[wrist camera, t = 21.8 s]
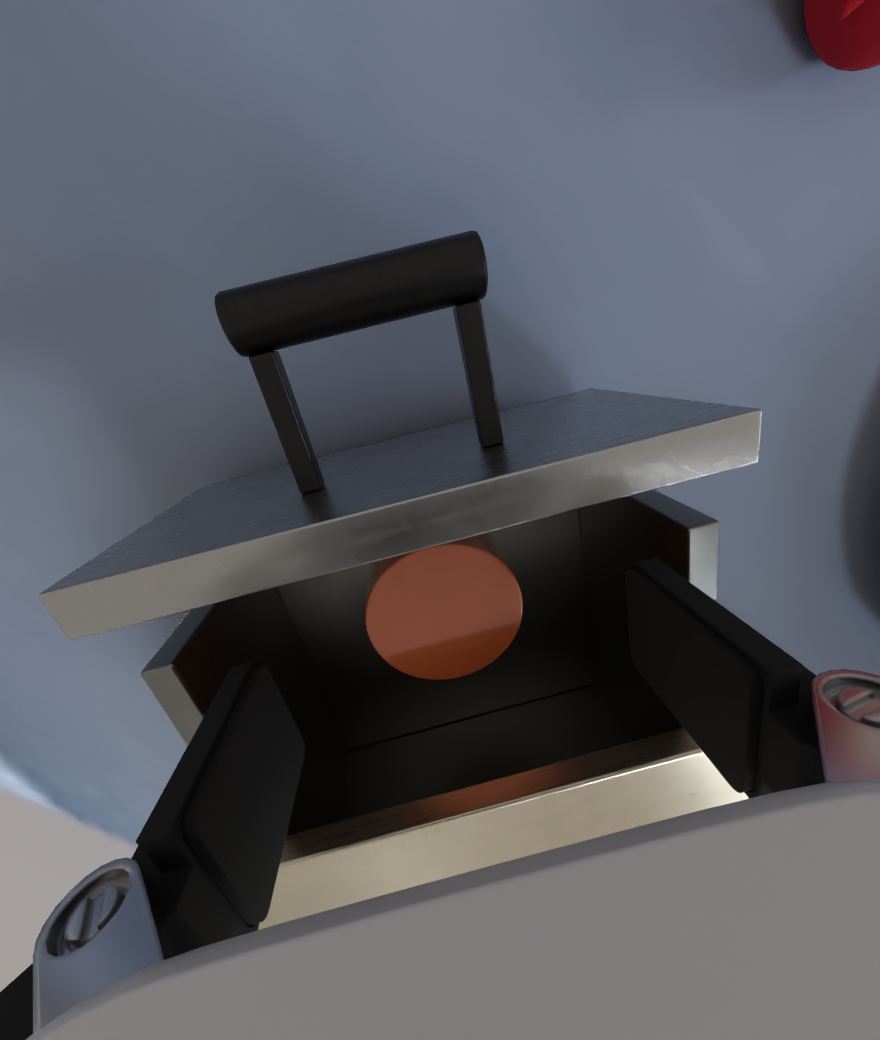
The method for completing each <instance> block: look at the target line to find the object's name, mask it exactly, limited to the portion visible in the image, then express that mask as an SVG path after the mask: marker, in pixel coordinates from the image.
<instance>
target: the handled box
mask: <svg viewBox="0 0 880 1040" xmlns="http://www.w3.org/2000/svg"><path fill="white" fill-rule="evenodd" d="M487 286H488V272H487V262H486V256H485V251H484V247H483V244H482V241H481V238H480V236H479V234H478V233H477V232H476V231H473V230H472V231H468V232H463V233H459V234H455V235H451V236H447V237H443V238H439V239H435V240H430V241H426V242H422V243H418V244H414V245H410V246H406V247H402V248H397V249H393V250H389V251H385V252H381V253H377V254H373V255H369V256H364V257H360V258H356V259H352V260H348V261H344V262H340V263H336V264H331V265H327V266H323V267H319V268H315V269H311V270H307V271H303V272H299V273H294V274H290V275H286V276H282V277H278V278H274V279H270V280H266V281H261V282H257V283H253V284H249V285H245V286H241V287H237V288H233V289H228V290H224V291H220V292H218V293H217V294H216V296H215V307H216V311H217V315H218V318H219V321H220V324H221V326H222V329H223V331H224V333H225V335H226V337H227V339H228V340H229V342H230V343H231V345H232V346H233V348H234V349H235V350H236V352H237V353H238V354H240V355H241V356H244V357H249V360H250V363H251V365H252V368H253V371H254V373H255V376H256V378H257V381H258V384H259V386H260V389H261V391H262V394H263V397H264V399H265V402H266V405H267V407H268V410H269V412H270V415H271V418H272V420H273V423H274V426H275V428H276V431H277V433H278V436H279V439H280V441H281V444H282V447H283V449H284V452H285V454H286V457H287V460H288V462H289V465H286V466H282V467H279V468H275V469H271V470H267V471H263V472H259V473H255V474H251V475H247V476H243V477H239V478H235V479H231V480H227V481H223V482H219V483H215V484H211V485H207V486H203V487H202V488H200V489H199V490H197V491H196V492H194V493H193V494H191V495H190V496H188V497H186V498H185V499H183V500H182V501H180V502H179V503H177V504H176V505H174V506H173V507H171V508H170V509H168V510H167V511H165V512H164V513H162V514H161V515H159V516H157V517H156V518H154V519H153V520H151V521H150V522H148V523H147V524H145V525H144V526H142V527H141V528H139V529H138V530H136V531H135V532H133V533H131V534H130V535H128V536H127V537H125V538H124V539H122V540H121V541H119V542H118V543H116V544H115V545H113V546H112V547H110V548H109V549H107V550H106V551H104V552H102V553H101V554H99V555H98V556H96V557H95V558H93V559H92V560H90V561H89V562H87V563H86V564H84V565H83V566H81V567H80V568H78V569H76V570H75V571H73V572H72V573H70V574H69V575H67V576H66V577H64V578H63V579H61V580H60V581H58V582H57V583H55V584H54V585H52V586H50V587H49V588H47V589H46V590H44V591H43V592H41V593H40V594H39V595H38V596H39V598H40V600H41V601H42V603H43V604H44V605H45V607H46V608H47V610H48V611H49V612H50V614H51V615H52V617H53V618H54V619H55V621H56V622H57V624H58V625H59V626H60V628H61V629H62V631H63V632H64V633H65V635H66V636H67V637H68V639H69V640H75V639H79V638H83V637H87V636H91V635H95V634H98V633H102V632H106V631H110V630H114V629H118V628H122V627H125V626H129V625H133V624H137V623H141V622H145V621H149V620H152V619H156V618H160V617H164V616H168V615H172V614H176V613H179V612H183V611H187V610H191V609H192V610H191V611H190V612H189V614H188V615H187V616H186V617H185V619H184V620H183V621H182V622H181V623H180V625H179V626H178V627H177V628H176V630H175V631H174V632H173V633H172V635H171V636H170V637H169V638H168V640H167V641H166V642H165V643H164V644H163V646H162V647H161V648H160V649H159V651H158V652H157V653H156V654H155V656H154V657H153V658H152V659H151V660H150V662H149V663H148V664H147V665H146V667H145V668H144V669H143V670H142V672H141V676H142V677H143V679H144V680H145V682H146V683H147V685H148V686H149V688H150V689H151V691H152V692H153V694H154V695H155V697H156V698H157V700H158V701H159V703H160V704H161V706H162V707H163V709H164V711H165V712H166V714H167V715H168V717H169V718H170V720H171V721H172V723H173V724H174V726H175V727H176V729H177V730H178V732H179V733H180V735H181V736H182V738H183V739H184V741H185V742H186V744H187V745H189V743H190V741H191V739H192V738H193V736H194V734H195V732H196V730H197V728H198V727H199V725H200V723H201V721H202V719H203V717H204V716H205V714H206V712H207V710H208V708H209V706H210V705H211V703H212V701H213V699H214V697H215V695H216V694H217V692H218V690H219V688H220V686H221V684H222V683H223V681H224V679H225V677H226V675H227V673H228V672H229V670H230V669H231V668H232V667H234V666H238V665H242V664H246V663H250V662H254V661H256V662H258V663H260V665H261V666H262V665H266V666H267V667H268V669H269V671H270V673H271V675H272V677H273V679H274V681H275V683H276V685H277V687H278V689H279V691H280V693H281V695H282V697H283V699H284V701H285V703H286V705H287V707H288V709H289V711H290V713H291V715H292V717H293V719H294V721H295V723H296V725H297V727H298V729H299V731H300V733H301V735H302V737H303V740H304V743H305V757H304V761H303V765H302V770H301V774H300V778H299V783H298V787H297V791H296V796H295V800H294V804H293V809H292V813H291V817H290V822H289V826H288V830H287V835H291V834H294V833H298V832H302V831H305V830H309V829H313V828H316V827H320V826H324V825H327V824H331V823H335V822H338V821H342V820H346V819H349V818H353V817H357V816H360V815H364V814H368V813H371V812H375V811H379V810H382V809H386V808H390V807H393V806H397V805H401V804H404V803H408V802H412V801H415V800H419V799H423V798H426V797H430V796H434V795H437V794H441V793H445V792H448V791H452V790H456V789H459V788H463V787H467V786H470V785H474V784H478V783H481V782H485V781H489V780H492V779H496V778H500V777H503V776H507V775H511V774H514V773H518V772H522V771H525V770H529V769H533V768H536V767H540V766H544V765H547V764H551V763H555V762H558V761H562V760H566V759H569V758H573V757H577V756H580V755H584V754H588V753H591V752H595V751H599V750H602V749H606V748H610V747H613V746H617V745H621V744H624V743H628V742H632V741H635V740H639V739H643V738H646V737H650V736H654V735H657V734H661V733H665V732H668V731H672V730H676V729H679V728H683V726H682V725H681V724H680V722H679V721H678V720H677V719H676V717H675V716H674V715H673V714H672V712H671V711H670V710H669V709H668V707H667V706H666V705H665V704H664V702H663V701H662V700H661V699H660V697H659V696H658V695H657V694H656V692H655V691H654V690H653V689H652V687H651V686H650V685H649V684H648V683H647V681H646V680H645V679H644V678H643V676H642V675H641V674H640V673H639V671H638V670H637V669H636V667H635V666H634V664H633V662H632V659H631V656H630V646H629V632H628V617H627V602H626V588H625V572H626V571H628V570H630V566H631V564H633V563H636V562H640V561H644V560H648V559H651V558H656V559H658V560H660V561H661V562H663V563H664V564H665V565H667V566H668V567H669V568H671V569H672V570H674V571H675V572H676V573H678V574H679V575H680V576H682V577H683V578H684V579H686V580H687V581H689V582H690V583H691V584H693V585H694V586H695V587H697V588H698V589H700V590H701V591H702V592H704V593H705V594H706V595H708V596H709V597H710V598H712V599H713V600H715V601H716V599H717V572H718V546H719V521H717V520H715V519H713V518H711V517H709V516H707V515H705V514H703V513H701V512H699V511H696V510H694V509H692V508H690V507H688V506H686V505H684V504H682V503H680V502H678V501H676V500H674V499H671V498H669V497H667V496H665V495H663V494H661V493H659V492H657V491H655V490H654V489H658V488H661V487H665V486H669V485H673V484H677V483H681V482H685V481H688V480H692V479H696V478H700V477H704V476H708V475H712V474H715V473H719V472H723V471H727V470H731V469H735V468H739V467H742V466H746V465H750V464H754V463H757V462H758V461H759V448H760V435H761V421H762V410H761V409H756V408H748V407H739V406H731V405H723V404H715V403H707V402H699V401H690V400H682V399H674V398H666V397H658V396H649V395H641V394H633V393H625V392H617V391H609V390H600V389H592V388H591V389H587V390H583V391H579V392H575V393H571V394H567V395H563V396H559V397H555V398H551V399H547V400H543V401H540V402H536V403H532V404H528V405H524V406H520V407H516V408H512V409H508V410H504V411H500V412H499V409H498V403H497V397H496V391H495V385H494V380H493V374H492V368H491V362H490V356H489V350H488V344H487V338H486V332H485V327H484V321H483V315H482V309H481V303H480V301H479V300H481V299H483V298H484V297H485V296H486V293H487ZM452 306H455V307H454V309H453V312H454V317H455V323H456V328H457V333H458V338H459V343H460V348H461V354H462V359H463V364H464V369H465V374H466V379H467V385H468V390H469V395H470V400H471V405H472V410H473V415H474V418H472V419H468V420H464V421H460V422H456V423H453V424H449V425H445V426H441V427H437V428H433V429H429V430H425V431H421V432H417V433H413V434H409V435H405V436H401V437H397V438H393V439H389V440H385V441H381V442H377V443H373V444H369V445H366V446H362V447H358V448H354V449H350V450H346V451H342V452H338V453H334V454H330V455H326V456H322V457H318V458H316V456H315V453H314V451H313V448H312V445H311V442H310V439H309V436H308V434H307V431H306V428H305V425H304V422H303V419H302V417H301V414H300V411H299V408H298V405H297V402H296V400H295V397H294V394H293V391H292V388H291V385H290V383H289V380H288V377H287V374H286V371H285V368H284V366H283V363H282V360H281V357H280V354H279V353H278V351H274V350H278V349H282V348H286V347H290V346H294V345H298V344H302V343H306V342H310V341H314V340H318V339H323V338H327V337H331V336H335V335H339V334H343V333H347V332H351V331H355V330H359V329H363V328H367V327H371V326H375V325H379V324H383V323H387V322H392V321H396V320H400V319H404V318H408V317H412V316H416V315H420V314H424V313H428V312H432V311H436V310H440V309H444V308H448V307H452ZM488 532H490V534H491V536H492V538H493V539H494V541H495V543H496V544H497V546H498V548H499V550H500V551H501V553H502V555H503V556H504V558H505V560H506V562H507V563H508V565H509V567H510V568H511V570H512V572H513V573H514V575H515V577H516V579H517V581H518V583H519V585H520V588H521V592H522V596H523V615H522V620H521V624H520V627H519V630H518V632H517V634H516V636H515V638H514V640H513V641H512V642H511V644H510V645H509V647H508V648H507V649H506V650H505V651H504V652H503V654H501V655H500V656H499V657H498V658H497V659H496V660H495V661H493V662H492V663H490V664H489V665H488V666H486V667H484V668H482V669H481V670H478V671H476V672H474V673H472V674H469V675H466V676H462V677H458V678H453V679H445V680H431V679H423V678H418V677H414V676H411V675H408V674H405V673H403V672H401V671H399V670H397V669H396V668H394V667H392V666H391V665H390V664H388V663H387V662H386V661H385V660H384V659H383V658H382V657H381V656H380V655H379V654H378V653H377V651H376V650H375V648H374V647H373V645H372V643H371V641H370V639H369V637H368V634H367V630H366V625H365V606H366V596H367V587H368V577H369V568H370V563H372V562H376V561H380V560H384V559H388V558H391V557H395V556H399V555H403V554H407V553H411V552H415V551H418V550H422V549H426V548H430V547H434V546H438V545H442V544H445V543H449V542H453V541H457V540H461V539H465V538H469V537H472V536H476V535H480V534H484V533H488ZM287 835H286V836H287Z"/></svg>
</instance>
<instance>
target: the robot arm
mask: <svg viewBox="0 0 880 1040" xmlns="http://www.w3.org/2000/svg"><path fill="white" fill-rule="evenodd" d="M625 588H626V602H627V617H628V632H629V646H630V656H631V659H632V662H633V664H634V666H635V667H636V669H637V670H638V671H639V673H640V674H641V675H642V676H643V678H644V679H645V680H646V681H647V683H648V684H649V685H650V686H651V687H652V689H653V690H654V691H655V692H656V694H657V695H658V696H659V697H660V699H661V700H662V701H663V702H664V704H665V705H666V706H667V707H668V709H669V710H670V711H671V712H672V714H673V715H674V716H675V717H676V719H677V720H678V721H679V722H680V724H681V725H682V726H683V727H684V729H685V730H686V731H687V732H688V734H689V735H690V736H691V737H692V739H693V740H694V741H695V742H696V744H697V745H698V746H699V747H700V749H701V750H702V751H703V752H704V754H705V755H706V756H707V757H708V759H709V760H710V761H711V762H712V764H713V765H714V766H715V767H716V769H717V770H718V771H719V772H720V774H721V775H722V776H723V777H724V779H725V780H726V781H727V782H728V784H729V785H730V786H731V787H732V788H733V789H734V790H735V791H736V792H738V793H743V792H744V793H745V794H746V795H747V796H748V798H749V799H746V800H741V801H737V802H733V803H729V804H725V805H721V806H717V807H712V808H708V809H704V810H700V811H696V812H692V813H688V814H685V815H681V816H677V817H673V818H669V819H666V820H662V821H658V822H654V823H650V824H647V825H643V826H639V827H635V828H631V829H628V830H624V831H620V832H616V833H612V834H608V835H605V836H601V837H597V838H593V839H589V840H586V841H582V842H578V843H574V844H570V845H567V846H563V847H559V848H556V849H552V850H548V851H544V852H541V853H537V854H533V855H529V856H526V857H522V858H518V859H514V860H511V861H507V862H503V863H500V864H496V865H492V866H488V867H485V868H481V869H477V870H474V871H470V872H466V873H463V874H459V875H455V876H451V877H448V878H444V879H440V880H437V881H433V882H429V883H426V884H422V885H418V886H414V887H411V888H407V889H404V890H400V891H396V892H393V893H389V894H385V895H382V896H378V897H375V898H371V899H367V900H364V901H360V902H356V903H353V904H349V905H346V906H342V907H338V908H335V909H331V910H327V911H324V912H320V913H316V914H313V915H309V916H306V917H302V918H298V919H295V920H291V921H287V922H284V923H280V924H277V925H274V926H270V927H267V928H264V929H260V930H258V928H259V923H260V922H263V921H264V920H265V919H266V917H267V915H268V912H269V908H270V904H271V900H272V895H273V891H274V887H275V882H276V878H277V874H278V869H279V865H280V861H281V856H282V852H283V848H284V843H285V839H286V835H287V830H288V826H289V822H290V817H291V813H292V809H293V804H294V800H295V796H296V791H297V787H298V783H299V778H300V774H301V770H302V765H303V761H304V757H305V743H304V740H303V737H302V735H301V733H300V731H299V729H298V727H297V725H296V723H295V721H294V719H293V717H292V715H291V713H290V711H289V709H288V707H287V705H286V703H285V701H284V699H283V697H282V695H281V693H280V691H279V689H278V687H277V685H276V683H275V681H274V679H273V677H272V675H271V673H270V671H269V669H268V667H267V666H266V665H262V666H261V665H260V663H258V662H256V661H254V662H250V663H246V664H242V665H238V666H234V667H232V668H231V669H230V670H229V672H228V673H227V675H226V677H225V679H224V681H223V683H222V684H221V686H220V688H219V690H218V692H217V694H216V695H215V697H214V699H213V701H212V703H211V705H210V706H209V708H208V710H207V712H206V714H205V716H204V717H203V719H202V721H201V723H200V725H199V727H198V728H197V730H196V732H195V734H194V736H193V738H192V739H191V741H190V743H189V745H188V747H187V749H186V750H185V752H184V754H183V756H182V758H181V760H180V761H179V763H178V765H177V767H176V769H175V771H174V772H173V774H172V776H171V778H170V780H169V782H168V783H167V785H166V787H165V789H164V791H163V793H162V794H161V796H160V798H159V800H158V802H157V804H156V805H155V807H154V809H153V811H152V813H151V815H150V816H149V818H148V820H147V822H146V824H145V826H144V827H143V829H142V831H141V833H140V835H139V837H138V838H137V840H136V842H137V844H138V847H137V849H136V851H135V853H134V855H133V857H132V858H131V859H129V858H122V859H116V860H114V861H111V862H109V863H107V864H105V865H102V866H101V867H99V868H98V869H96V870H95V871H93V872H92V873H90V874H89V875H87V876H86V877H85V878H84V879H83V880H82V881H80V882H79V883H78V884H77V885H76V886H75V887H74V888H73V889H72V890H70V892H69V893H68V894H67V895H66V896H65V897H64V898H63V900H61V902H60V903H59V904H58V905H57V906H56V907H55V909H54V910H53V912H52V913H51V915H50V916H49V918H48V919H47V921H46V922H45V924H44V925H43V927H42V929H41V932H40V934H39V936H38V938H37V940H36V943H35V948H34V954H33V964H31V965H30V966H29V967H28V968H27V969H26V970H25V971H24V972H22V973H21V974H20V975H19V976H18V977H17V978H16V979H15V980H14V981H12V982H11V983H10V984H9V985H8V986H7V987H6V988H5V989H4V990H2V991H1V992H0V1040H880V676H878V675H874V674H870V673H866V672H862V671H855V670H845V669H841V670H829V671H826V672H823V673H820V674H818V675H817V676H816V675H815V674H814V673H812V672H811V671H809V670H808V669H807V668H805V667H804V666H803V665H802V664H801V663H800V662H798V661H797V660H795V659H794V658H793V657H791V656H790V655H789V654H787V653H786V652H784V651H783V650H782V649H780V648H779V647H778V646H776V645H775V644H773V643H772V642H771V641H769V640H768V639H767V638H765V637H764V636H763V635H761V634H760V633H758V632H757V631H756V630H754V629H753V628H752V627H750V626H749V625H747V624H746V623H745V622H743V621H742V620H741V619H739V618H738V617H737V616H735V615H734V614H732V613H731V612H730V611H728V610H727V609H726V608H724V607H723V606H721V605H720V604H719V603H717V602H716V601H715V600H713V599H712V598H710V597H709V596H708V595H706V594H705V593H704V592H702V591H701V590H700V589H698V588H697V587H695V586H694V585H693V584H691V583H690V582H689V581H687V580H686V579H684V578H683V577H682V576H680V575H679V574H678V573H676V572H675V571H674V570H672V569H671V568H669V567H668V566H667V565H665V564H664V563H663V562H661V561H660V560H658V559H656V558H651V559H648V560H644V561H640V562H636V563H633V564H631V566H630V570H628V571H626V572H625Z"/></svg>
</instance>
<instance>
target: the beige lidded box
mask: <svg viewBox="0 0 880 1040" xmlns="http://www.w3.org/2000/svg"><path fill="white" fill-rule="evenodd" d="M746 799H749V798H748V796H747V795H746V794H745V793H744V792H743V793H738V792H736V791H735V790H734V789H733V788H732V787H731V786H730V785H729V784H728V782H727V781H726V780H725V779H724V777H723V776H722V775H721V774H720V772H719V771H718V770H717V769H716V767H715V766H714V765H713V764H712V762H711V761H710V760H709V759H708V757H707V756H706V755H705V754H704V752H703V751H702V750H701V749H700V747H699V746H698V745H697V744H696V742H695V741H694V740H693V739H692V737H691V736H690V735H689V734H688V732H687V731H686V730H685V729H684V727H683V728H679V729H676V730H672V731H668V732H665V733H661V734H657V735H654V736H650V737H646V738H643V739H639V740H635V741H632V742H628V743H624V744H621V745H617V746H613V747H610V748H606V749H602V750H599V751H595V752H591V753H588V754H584V755H580V756H577V757H573V758H569V759H566V760H562V761H558V762H555V763H551V764H547V765H544V766H540V767H536V768H533V769H529V770H525V771H522V772H518V773H514V774H511V775H507V776H503V777H500V778H496V779H492V780H489V781H485V782H481V783H478V784H474V785H470V786H467V787H463V788H459V789H456V790H452V791H448V792H445V793H441V794H437V795H434V796H430V797H426V798H423V799H419V800H415V801H412V802H408V803H404V804H401V805H397V806H393V807H390V808H386V809H382V810H379V811H375V812H371V813H368V814H364V815H360V816H357V817H353V818H349V819H346V820H342V821H338V822H335V823H331V824H327V825H324V826H320V827H316V828H313V829H309V830H305V831H302V832H298V833H294V834H291V835H287V836H286V839H285V843H284V848H283V852H282V856H281V861H280V865H279V869H278V874H277V878H276V882H275V887H274V891H273V895H272V900H271V904H270V908H269V912H268V915H267V917H266V919H265V920H264V921H263V922H260V923H259V928H258V930H260V929H264V928H267V927H270V926H274V925H277V924H280V923H284V922H287V921H291V920H295V919H298V918H302V917H306V916H309V915H313V914H316V913H320V912H324V911H327V910H331V909H335V908H338V907H342V906H346V905H349V904H353V903H356V902H360V901H364V900H367V899H371V898H375V897H378V896H382V895H385V894H389V893H393V892H396V891H400V890H404V889H407V888H411V887H414V886H418V885H422V884H426V883H429V882H433V881H437V880H440V879H444V878H448V877H451V876H455V875H459V874H463V873H466V872H470V871H474V870H477V869H481V868H485V867H488V866H492V865H496V864H500V863H503V862H507V861H511V860H514V859H518V858H522V857H526V856H529V855H533V854H537V853H541V852H544V851H548V850H552V849H556V848H559V847H563V846H567V845H570V844H574V843H578V842H582V841H586V840H589V839H593V838H597V837H601V836H605V835H608V834H612V833H616V832H620V831H624V830H628V829H631V828H635V827H639V826H643V825H647V824H650V823H654V822H658V821H662V820H666V819H669V818H673V817H677V816H681V815H685V814H688V813H692V812H696V811H700V810H704V809H708V808H712V807H717V806H721V805H725V804H729V803H733V802H737V801H741V800H746Z"/></svg>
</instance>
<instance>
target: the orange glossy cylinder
mask: <svg viewBox="0 0 880 1040" xmlns="http://www.w3.org/2000/svg"><path fill="white" fill-rule="evenodd" d="M522 615H523V596H522V592H521V588H520V585H519V583H518V581H517V579H516V577H515V575H514V573H513V572H512V570H511V568H510V567H509V565H508V563H507V562H506V560H505V558H504V556H503V555H502V553H501V551H500V550H499V548H498V546H497V544H496V543H495V541H494V539H493V538H492V536H491V534H490V532H488V533H484V534H480V535H476V536H472V537H469V538H465V539H461V540H457V541H453V542H449V543H445V544H442V545H438V546H434V547H430V548H426V549H422V550H418V551H415V552H411V553H407V554H403V555H399V556H395V557H391V558H388V559H384V560H380V561H376V562H372V563H370V568H369V577H368V587H367V596H366V606H365V625H366V630H367V634H368V637H369V639H370V641H371V643H372V645H373V647H374V648H375V650H376V651H377V653H378V654H379V655H380V656H381V657H382V658H383V659H384V660H385V661H386V662H387V663H388V664H390V665H391V666H392V667H394V668H396V669H397V670H399V671H401V672H403V673H405V674H408V675H411V676H414V677H418V678H423V679H431V680H445V679H453V678H458V677H462V676H466V675H469V674H472V673H474V672H476V671H478V670H481V669H482V668H484V667H486V666H488V665H489V664H490V663H492V662H493V661H495V660H496V659H497V658H498V657H499V656H500V655H501V654H503V652H504V651H505V650H506V649H507V648H508V647H509V645H510V644H511V642H512V641H513V640H514V638H515V636H516V634H517V632H518V630H519V627H520V624H521V620H522Z"/></svg>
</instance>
